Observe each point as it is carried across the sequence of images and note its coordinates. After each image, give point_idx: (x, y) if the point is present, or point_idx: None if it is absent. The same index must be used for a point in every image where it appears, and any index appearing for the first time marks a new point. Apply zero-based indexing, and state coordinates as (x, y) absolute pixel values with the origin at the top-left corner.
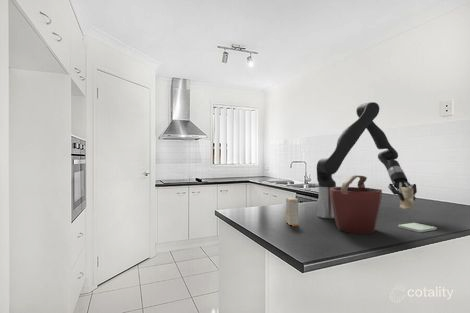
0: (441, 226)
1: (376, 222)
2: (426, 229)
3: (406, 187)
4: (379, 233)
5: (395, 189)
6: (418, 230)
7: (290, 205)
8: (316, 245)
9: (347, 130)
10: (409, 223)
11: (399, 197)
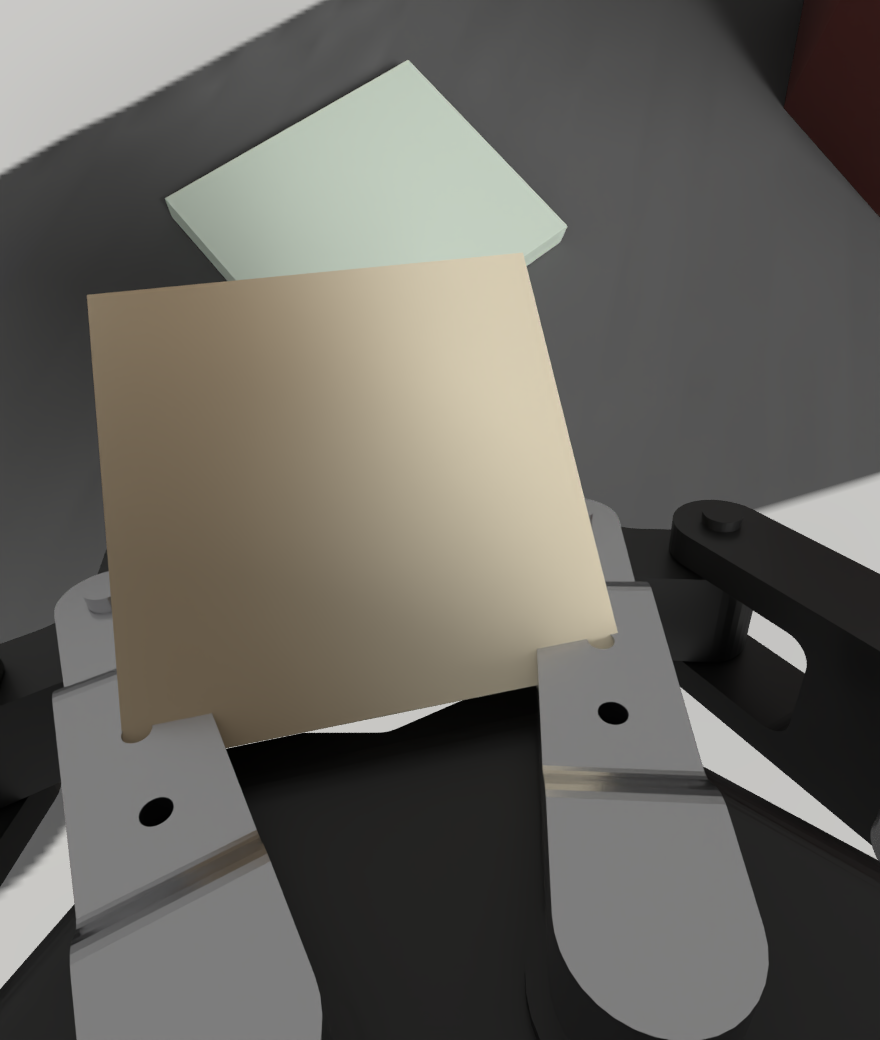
0: (17, 385)
1: (825, 13)
2: (320, 114)
3: (300, 628)
4: (757, 5)
5: (770, 564)
6: (416, 73)
7: None
8: None
9: None
10: None
11: None
